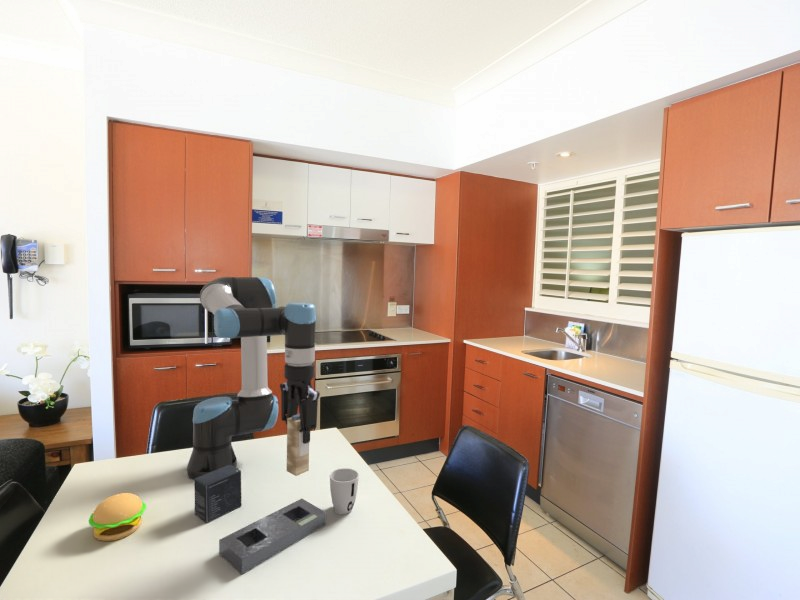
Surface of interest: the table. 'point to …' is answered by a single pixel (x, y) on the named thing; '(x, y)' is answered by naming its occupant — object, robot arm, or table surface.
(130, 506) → the toy hamburger
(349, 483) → the cup
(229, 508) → the box
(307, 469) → the plug
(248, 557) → the panel
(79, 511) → the table surface
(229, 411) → the robot arm
